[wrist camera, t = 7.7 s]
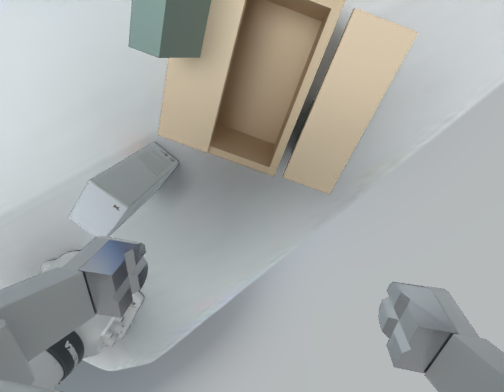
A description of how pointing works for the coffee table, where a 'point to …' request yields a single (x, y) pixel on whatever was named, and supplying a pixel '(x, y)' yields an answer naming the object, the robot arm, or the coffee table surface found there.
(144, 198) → the skincare box
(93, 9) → the coffee table surface
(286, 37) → the carton
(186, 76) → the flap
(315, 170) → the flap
